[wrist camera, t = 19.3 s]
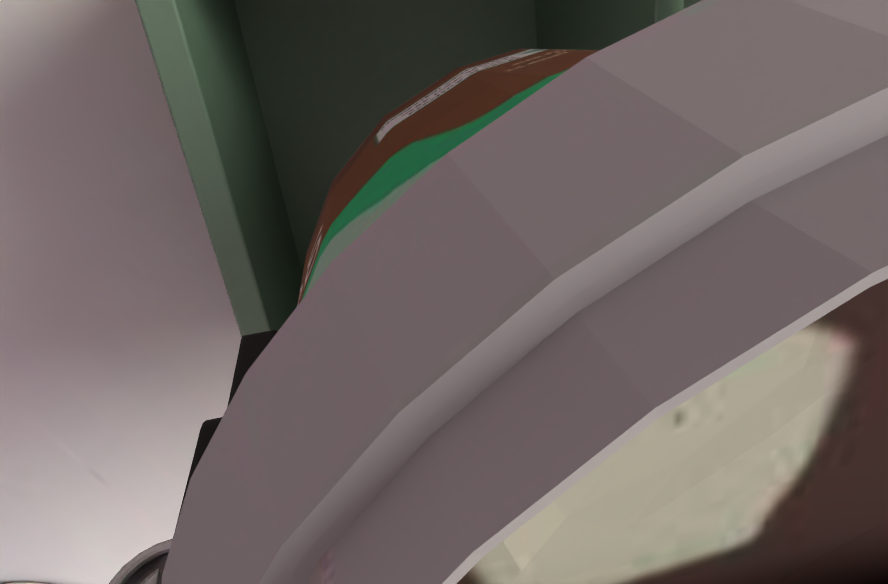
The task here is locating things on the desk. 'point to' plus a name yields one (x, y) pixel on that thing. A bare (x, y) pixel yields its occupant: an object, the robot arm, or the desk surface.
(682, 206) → the food container
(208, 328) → the desk surface
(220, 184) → the chest
